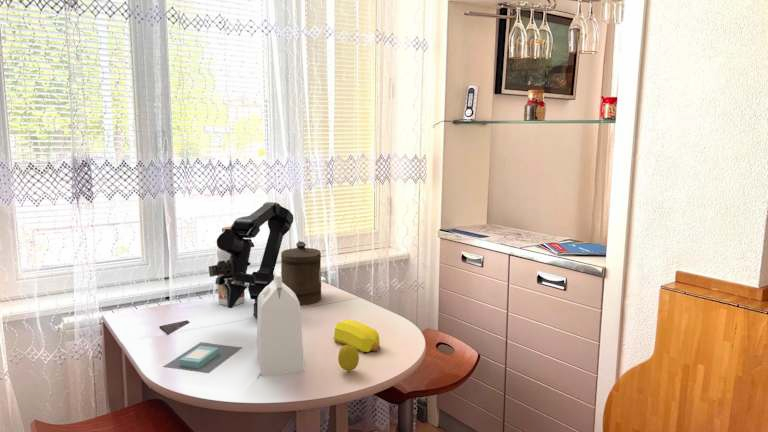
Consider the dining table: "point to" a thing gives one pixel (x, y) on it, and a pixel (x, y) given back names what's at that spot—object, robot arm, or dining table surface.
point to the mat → (212, 364)
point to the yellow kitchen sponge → (357, 335)
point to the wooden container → (302, 272)
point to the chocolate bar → (173, 326)
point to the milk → (279, 329)
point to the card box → (199, 356)
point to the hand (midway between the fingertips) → (229, 308)
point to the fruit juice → (221, 290)
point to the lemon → (348, 357)
